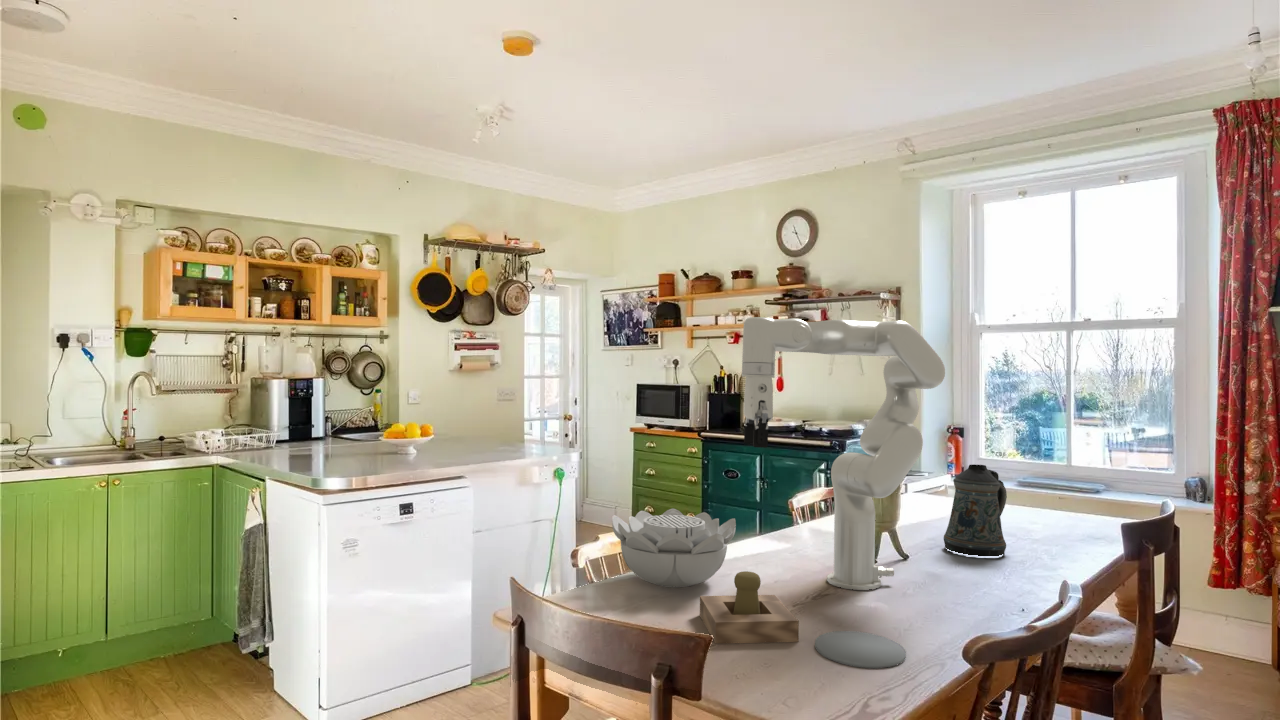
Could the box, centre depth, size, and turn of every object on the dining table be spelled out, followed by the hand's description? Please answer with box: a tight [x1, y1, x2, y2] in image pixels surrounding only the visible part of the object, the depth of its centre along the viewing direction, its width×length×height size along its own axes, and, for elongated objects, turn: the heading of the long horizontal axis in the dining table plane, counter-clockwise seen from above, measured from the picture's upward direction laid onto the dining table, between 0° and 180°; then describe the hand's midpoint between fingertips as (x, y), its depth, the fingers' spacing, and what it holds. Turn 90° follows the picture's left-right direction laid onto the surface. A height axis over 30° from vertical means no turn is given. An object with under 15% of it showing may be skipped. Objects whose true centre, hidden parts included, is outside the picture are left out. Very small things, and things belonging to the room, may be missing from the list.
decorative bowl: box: [611, 508, 737, 588], centre depth 178 cm, size 30×30×15 cm
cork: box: [733, 570, 762, 615], centre depth 147 cm, size 6×6×11 cm
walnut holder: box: [699, 594, 800, 645], centre depth 147 cm, size 16×16×4 cm
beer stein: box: [943, 464, 1008, 556], centre depth 215 cm, size 16×19×25 cm
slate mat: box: [814, 630, 907, 669], centre depth 136 cm, size 16×16×1 cm
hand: (755, 445), depth 170 cm, fingers open, 9 cm apart
